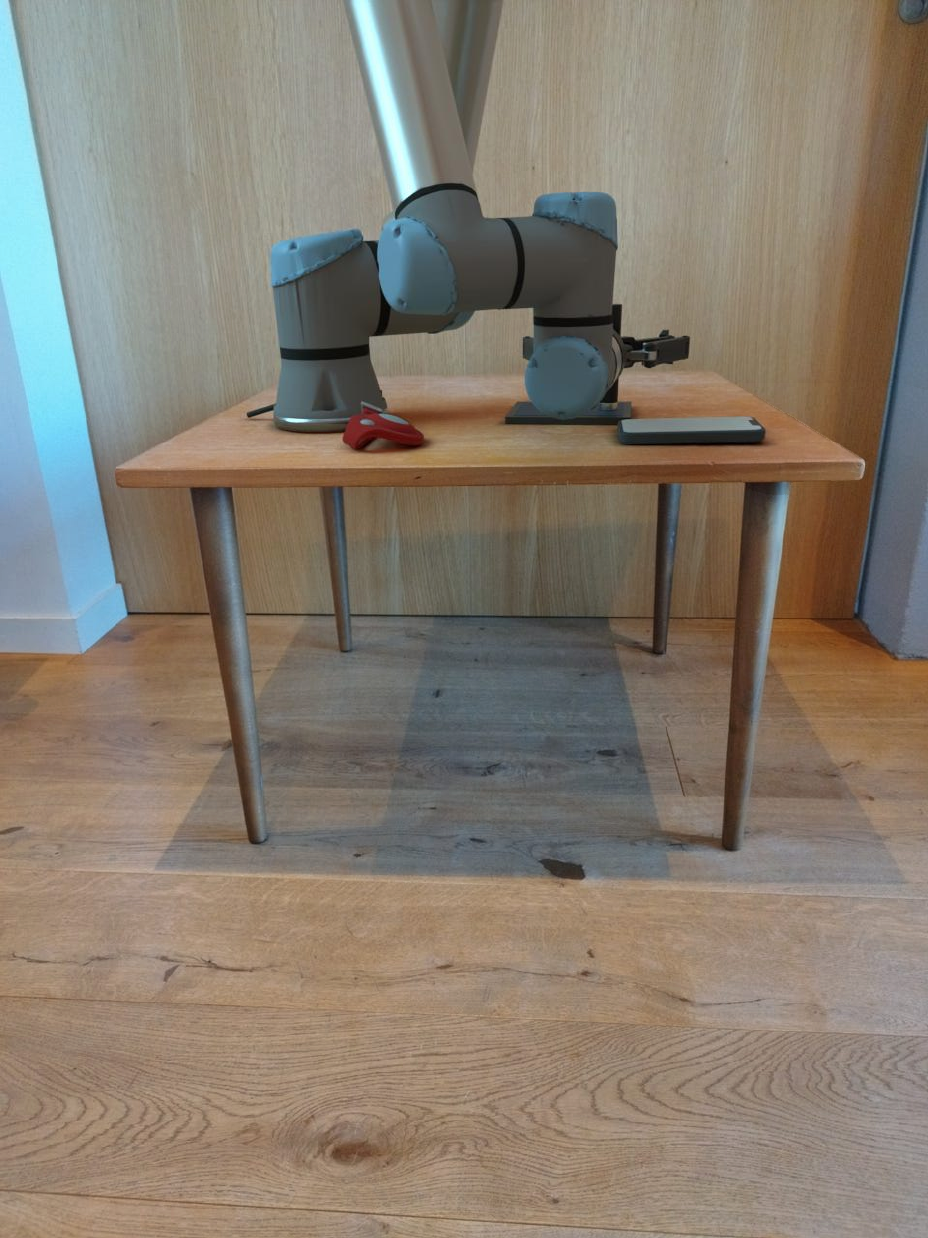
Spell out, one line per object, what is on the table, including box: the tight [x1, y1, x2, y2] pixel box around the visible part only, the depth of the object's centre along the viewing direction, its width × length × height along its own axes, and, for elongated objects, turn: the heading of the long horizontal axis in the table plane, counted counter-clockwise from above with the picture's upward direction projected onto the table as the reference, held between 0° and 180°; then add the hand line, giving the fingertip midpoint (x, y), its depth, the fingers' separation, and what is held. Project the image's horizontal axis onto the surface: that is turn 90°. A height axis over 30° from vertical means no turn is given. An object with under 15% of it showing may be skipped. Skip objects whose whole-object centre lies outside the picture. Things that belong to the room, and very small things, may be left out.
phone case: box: [616, 416, 767, 445], centre depth 95 cm, size 9×2×16 cm
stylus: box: [599, 303, 623, 411], centre depth 105 cm, size 2×2×13 cm
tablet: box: [504, 400, 632, 426], centre depth 110 cm, size 16×12×1 cm
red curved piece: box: [341, 402, 425, 450], centre depth 97 cm, size 12×4×10 cm
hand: (611, 340), depth 107 cm, fingers open, 13 cm apart
